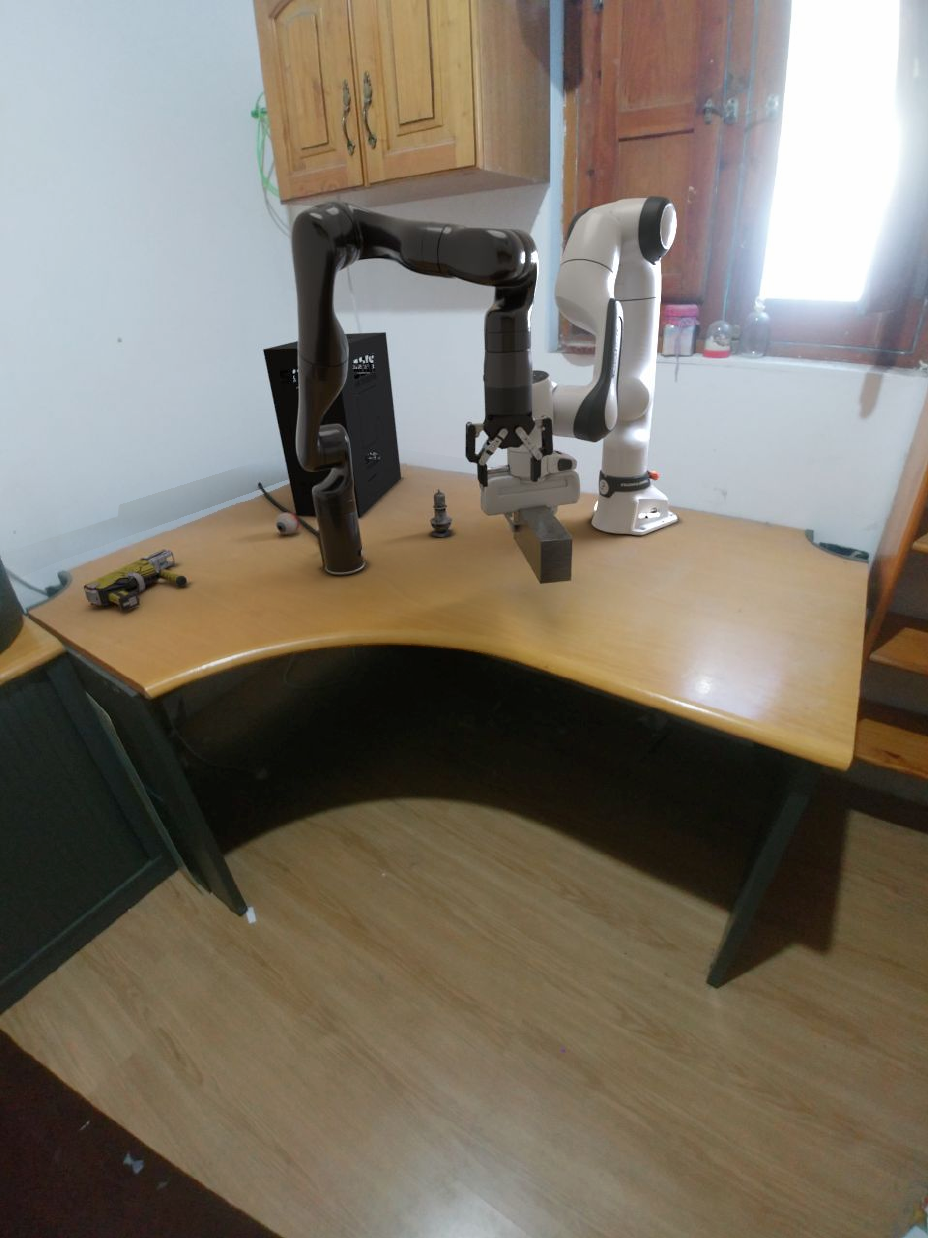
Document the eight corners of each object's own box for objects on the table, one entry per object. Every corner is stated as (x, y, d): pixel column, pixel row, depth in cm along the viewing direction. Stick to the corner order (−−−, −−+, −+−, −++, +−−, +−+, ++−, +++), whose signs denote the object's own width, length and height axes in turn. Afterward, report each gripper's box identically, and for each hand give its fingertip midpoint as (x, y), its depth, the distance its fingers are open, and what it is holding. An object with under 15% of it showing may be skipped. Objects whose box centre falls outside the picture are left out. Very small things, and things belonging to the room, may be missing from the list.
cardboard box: (360, 517, 174) (335, 347, 151) (296, 514, 178) (263, 349, 156) (401, 477, 205) (385, 332, 183) (345, 476, 210) (324, 334, 187)
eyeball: (273, 537, 164) (268, 516, 161) (287, 528, 169) (282, 508, 166) (291, 539, 161) (286, 518, 158) (305, 530, 166) (301, 510, 163)
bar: (513, 538, 128) (513, 500, 124) (539, 535, 128) (540, 498, 124) (540, 584, 108) (540, 541, 104) (571, 580, 109) (572, 537, 105)
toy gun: (210, 557, 146) (160, 546, 150) (132, 599, 126) (77, 585, 130) (213, 575, 148) (164, 564, 152) (137, 618, 128) (82, 604, 132)
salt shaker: (450, 537, 157) (447, 492, 151) (428, 536, 158) (424, 492, 152) (455, 529, 162) (452, 485, 156) (433, 528, 163) (430, 485, 157)
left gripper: (467, 388, 90) (472, 494, 98) (559, 381, 91) (556, 485, 99) (459, 381, 96) (464, 481, 104) (545, 374, 98) (544, 473, 106)
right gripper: (483, 473, 112) (486, 542, 119) (585, 459, 116) (582, 526, 123) (474, 464, 118) (477, 530, 125) (572, 451, 121) (570, 516, 128)
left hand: (509, 483), depth 102 cm, fingers open, 8 cm apart
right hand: (530, 528), depth 124 cm, fingers closed on bar, 6 cm apart
